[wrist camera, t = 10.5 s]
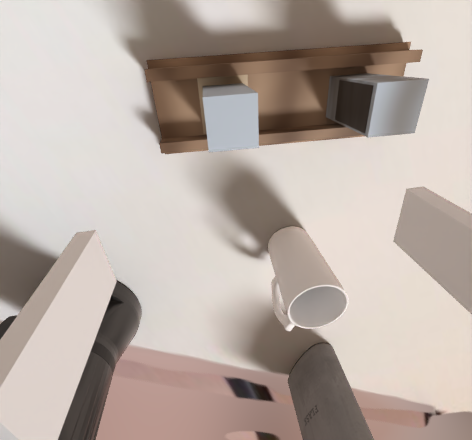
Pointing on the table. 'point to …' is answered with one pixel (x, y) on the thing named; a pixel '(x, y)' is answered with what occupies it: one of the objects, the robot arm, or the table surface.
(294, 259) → the mug
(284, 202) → the table surface
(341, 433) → the flask
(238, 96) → the block
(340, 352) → the table surface
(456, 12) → the table surface
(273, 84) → the rail
